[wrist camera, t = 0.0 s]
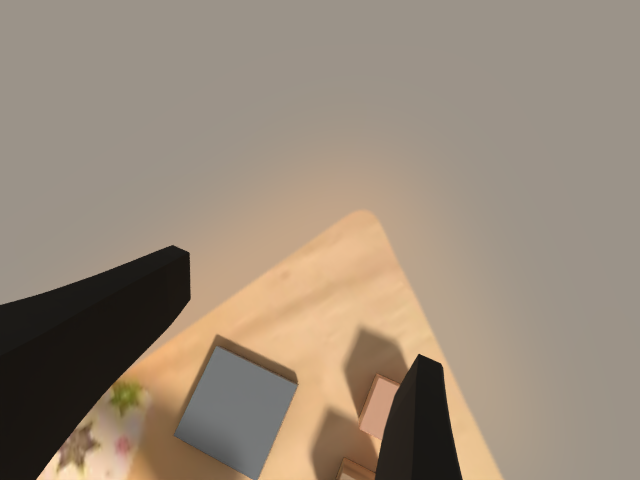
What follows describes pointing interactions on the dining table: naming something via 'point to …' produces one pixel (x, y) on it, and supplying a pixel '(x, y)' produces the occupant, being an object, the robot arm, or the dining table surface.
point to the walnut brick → (354, 471)
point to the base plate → (236, 412)
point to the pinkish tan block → (378, 406)
